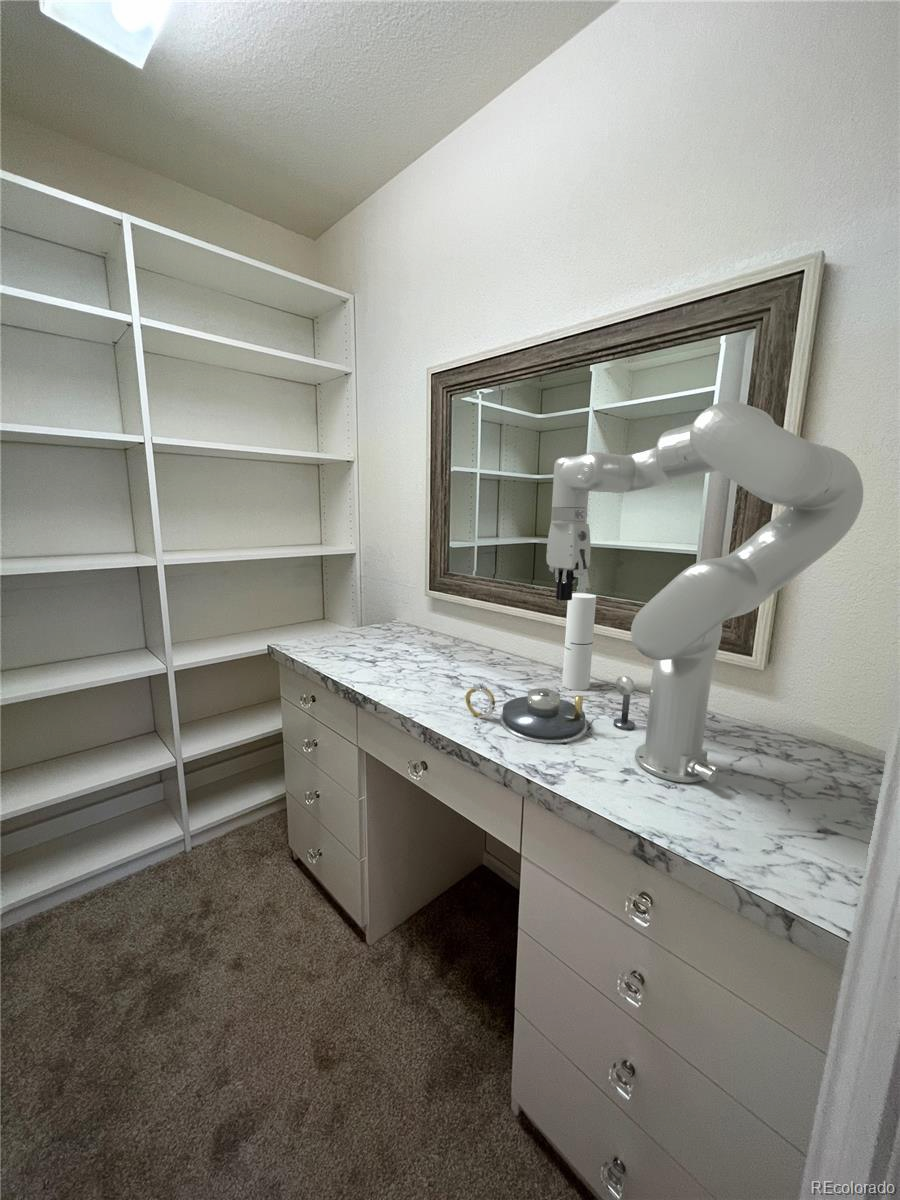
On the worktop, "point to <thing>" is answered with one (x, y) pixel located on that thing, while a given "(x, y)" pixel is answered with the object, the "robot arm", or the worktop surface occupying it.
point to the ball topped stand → (624, 703)
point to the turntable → (545, 719)
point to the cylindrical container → (579, 641)
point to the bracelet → (484, 689)
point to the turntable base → (550, 741)
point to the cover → (543, 703)
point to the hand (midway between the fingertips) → (563, 599)
